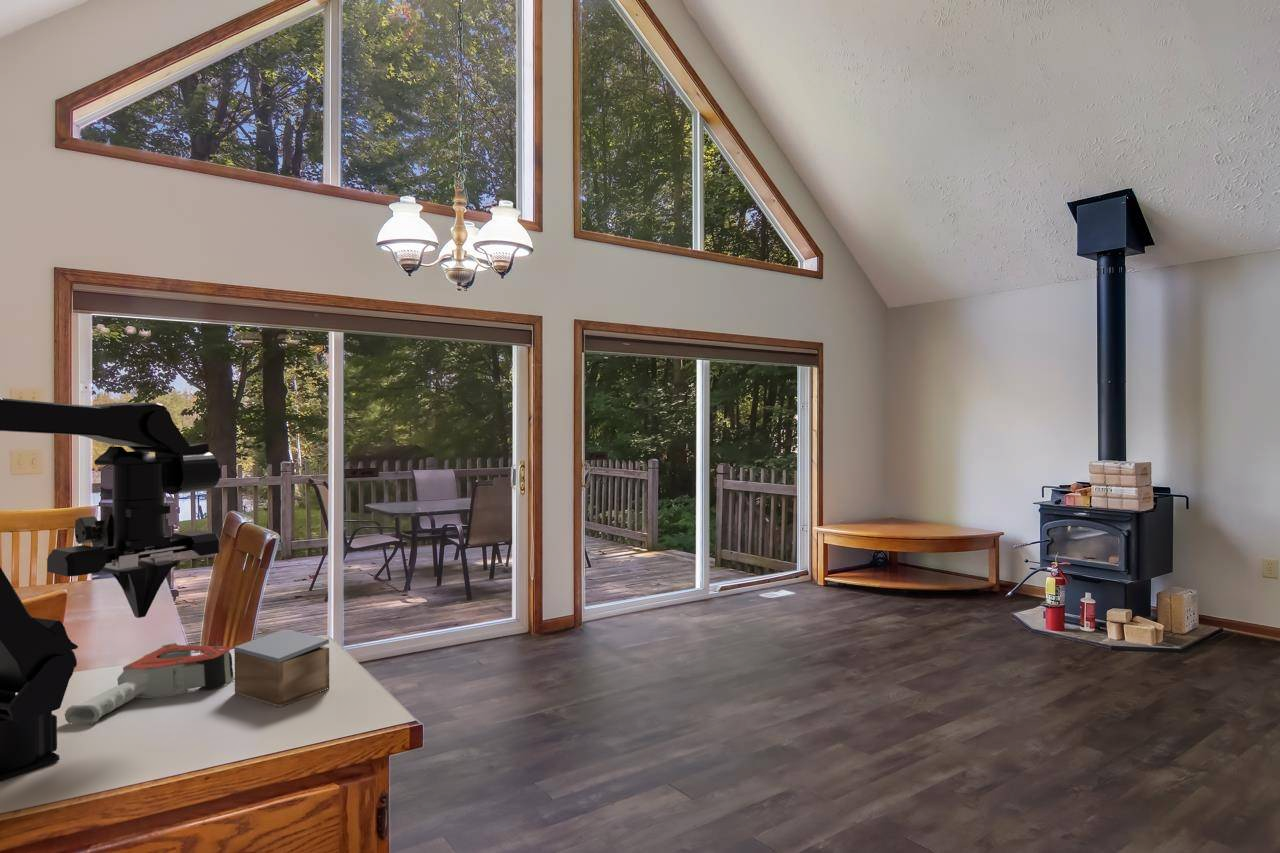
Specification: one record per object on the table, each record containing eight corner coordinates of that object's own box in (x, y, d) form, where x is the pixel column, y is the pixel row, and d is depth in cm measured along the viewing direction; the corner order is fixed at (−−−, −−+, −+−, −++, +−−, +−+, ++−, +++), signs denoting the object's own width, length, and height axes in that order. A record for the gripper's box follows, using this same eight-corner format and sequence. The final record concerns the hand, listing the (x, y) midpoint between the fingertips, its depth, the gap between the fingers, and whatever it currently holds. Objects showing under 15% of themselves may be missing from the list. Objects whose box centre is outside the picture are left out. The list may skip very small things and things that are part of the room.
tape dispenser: (66, 744, 97) (243, 701, 108) (61, 703, 97) (240, 664, 108) (73, 694, 112) (228, 660, 123) (69, 658, 111) (225, 628, 122)
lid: (278, 662, 104) (278, 658, 104) (234, 650, 109) (234, 646, 109) (329, 643, 111) (328, 639, 111) (285, 632, 116) (284, 629, 116)
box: (279, 707, 104) (278, 663, 104) (234, 693, 110) (234, 651, 109) (329, 688, 111) (329, 647, 111) (285, 676, 116) (285, 637, 116)
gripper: (177, 488, 113) (178, 594, 113) (25, 501, 97) (27, 625, 97) (222, 493, 107) (223, 604, 108) (68, 507, 91) (70, 638, 92)
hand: (140, 617), depth 101 cm, fingers closed
